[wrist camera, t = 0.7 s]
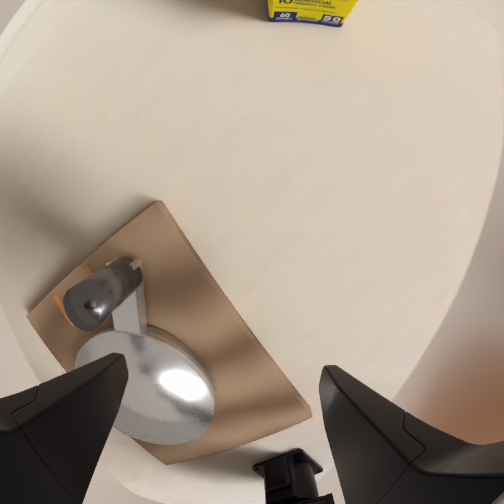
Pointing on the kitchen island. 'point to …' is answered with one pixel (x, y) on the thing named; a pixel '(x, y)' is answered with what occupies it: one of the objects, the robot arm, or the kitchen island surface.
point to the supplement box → (310, 11)
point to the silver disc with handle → (142, 357)
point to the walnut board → (185, 335)
